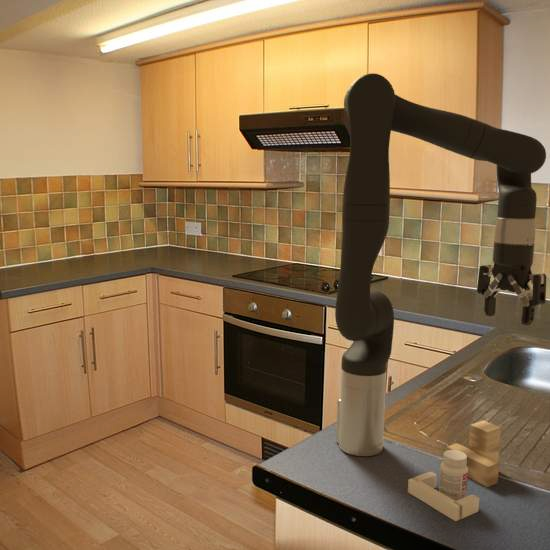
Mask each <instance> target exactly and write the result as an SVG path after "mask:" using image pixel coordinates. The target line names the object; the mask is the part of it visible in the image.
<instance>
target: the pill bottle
mask: <svg viewBox="0 0 550 550" xmlns="http://www.w3.org/2000/svg"><path fill="white" fill-rule="evenodd" d="M466 463H467V456H466V454H465V453H463V452H461V451H457V450H447V451H446V450H445V451H443V455H442V462H441V463H440V467H439V483H438V484H439V485H438V491H439V492H441V493H443V494H444V495H446V496H448V497H449V498H451V499H453V500H455V501H457V500H459V499H462V498H464V497H467V489H468V478H469V477H468V467H467V466H466Z"/></svg>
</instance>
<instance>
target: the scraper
mask: <svg viewBox="0 0 550 550" xmlns="http://www.w3.org/2000/svg"><path fill="white" fill-rule="evenodd" d="M469 426H470V427H469V441H468V447H467V446H464V445H462V444H459V443H458V442H455V443H452V444H450V445H447V446H446V449H445V451H447V450H457V451H461V452H463V453H465V454H466V456H467V463H466V466H467V467H468V478H469V479H470V480H473V481H475V482H476V483H478V484H480V485H482V486H484V487H486V488H489V487H491V486H494V485H495V484H498V483H499V482H498V481H499V470H500V469H499V468H500V462H499V457H500V445H501V432H502V427H500V426H498V425H496V424H494V423H491V422H490V421H489V422H488V421H486V420H481V421H477V422H474V423H472V424H470V425H469Z"/></svg>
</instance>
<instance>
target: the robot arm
mask: <svg viewBox="0 0 550 550" xmlns="http://www.w3.org/2000/svg"><path fill="white" fill-rule="evenodd" d="M343 108H344V111H345V114H346V116H347V118H348V119H349V140H350V141H349V142H350V143H349V146H350V147H349V148H350V149H349V156H348V157H349V158H348V163H347V167H346V173H345V177H344V183H343V184H344V185H343V193H342V206H341V208H342V210H341V211H342V212H341V231H342V232H341V234H342V235H341V247H340V249H341V253H340V269H339V278H338V285H337V294H336V300H335V308H334V309H335V310H334V316H335V323H336V327H337V330H338V331H339V333H340V335H341V336H342V337H343V338H344V339H346V340H347V341H351V342H352V344H351V345H350V346H349V347H348V348H347V350H346V351H345V352H344V353H343V354H342V356H341V364H340V365H341V366H340V367H341V371H340V398H339V399H338V400H337V406H336V409H337V410H336V438H335V441H336V443H337V444H338V447H339V448H340V450H341V451H343V452H344V453H346V454H348V455H351V456H357V457H371V456H372V457H373V456H377V455H378V454H380V453H381V452H382V451H383V448H384V432H385V431H384V430H385V411H386V410H385V407H386V406H385V405H386V386H387V385H386V384H387V365H388V363H389V359H390V357H391V354H392V348H393V337H394V326H395V325H394V324H395V313H394V308H393V304H392V302H391V300H390V299H389V297H388V296H387V295H386V294H385V293H383V292H382V291H378V290H371V285H372V284H371V282H372V281H371V280H372V273H373V269H374V266H375V263H376V261H377V258H378V256H379V254H380V252H381V250H382V248H383V245H384V243H385V240H386V238H387V234H388V232H389V227H390V210H391V209H390V207H391V205H390V204H391V194H390V193H391V188H390V187H391V185H390V183H391V179H390V177H391V176H390V175H391V174H390V157H389V155H390V153H389V152H390V143H391V142H390V140H391V132H396V133H399V134H402V135H406V136H410V137H412V138H416V139H419V140H421V141H424V142H427V143H429V144H431V145H434V146H436V147H439V148H442V149H444V150H447V151H450V152H452V153H454V154H457V155H460V156H463V157H466V158H469V159H471V160H475V161H482V162H483V161H484V162H489V163H491V164H494V165H496V178H497V188H498V189H497V190H498V201H497V203H498V204H497V216H496V222H495V227H494V237H493V251H492V262H493V266H492V265H491V264H485V265H480V266H479V269H478V270H479V271H478V277H477V286H476V292H477V293H478V294H481V295H482V296H483V297H484V307H483V309H484V313H485V316H487V317H493V316H495V315H496V304H497V298H496V296H497V295H498V294H499V293H500V292H501V291H508V292H510V293H515V294H516V295H517V297H519V298H520V300H521V302H522V304H523V306H522V312H521V313H522V314H521V325H523V326H530V325H531V324H532V323H533V322H534V321H535V311H536V310H535V308H536V306H539V305H545V304H546V302H547V301H546V299H547V297H546V296H547V275H546V274H545V273H533V272H532V266H533V263H534V253H535V241H536V214H537V213H536V212H537V202H538V201H537V200H538V199H537V196H538V195H537V192H536V191H535V190H534V189H533V187H532V174H534V173H536V172H538V171H539V170H540V169H541V168H543V166H544V164H545V162H546V159H547V151H546V148H545V147H544V145H543V144H542V142H540V141H539V140H538V139H536V138H534V137H532V136H529V135H526V134H523V133H519V132H514V131H511V130H507V129H503V128H498V127H495V126H492V125H490V124H488V123H486V122H483V121H480V120H477V119H474V118H471V117H469V116H466V115H462V114H460V113H455V112H451V111H447V110H442V109H438V108H432V107H430V106H424V105H421V104H418V103H415V102H412V101H410V100H408V99H406V98H403V97H401V96H399V95H398V94H396V93H395V89H394V88H393V85H392V83H391V82H390V81H389V80H388V79H387V78H386V77H385V76H383V75H382V74H378V73H366V74H363V75H361V76H359V77H358V78H357V79H355V80H354V81H353V82H352V83H351V84H350V86H349V87H348V89H347V90H346V93H345V95H344V99H343ZM491 277H493V280H492V282H491V279H492V278H491ZM530 284H532V287H531V285H530Z"/></svg>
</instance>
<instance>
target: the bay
mask: <svg viewBox="0 0 550 550" xmlns="http://www.w3.org/2000/svg"><path fill="white" fill-rule="evenodd" d="M437 479H438V475H437V474H436V473H435V472H433V471H428V472H425V473H422V474H420V475H417V476H414V477H411V478H409V479H408V483H407V485H408V486H407V493H408V494H409V495H412V496H413V497H416V498H417V499H418V500H420V501H421V502H423V503H425V504H426V505H428V506H430V507H431V508H433V509H435V510H436V511H438V512H439V513H441V514H442V515H445V516H446V517H448V518H449V519H451V520H452V521H454V522H458V521H460V520H462V519H464V518H467V517H469V516H471V515H474V514H476V513H478V512H479V506H480V497H478V496H476V495H475V494H472V493H471V494H470V495H466V497H464V498H462V499H459V500H457V501H455V500H453V499H451V498H449V497H448V496H446V495H444V494H443V493H441V492H439V490H437V489H435V488H437Z"/></svg>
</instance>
